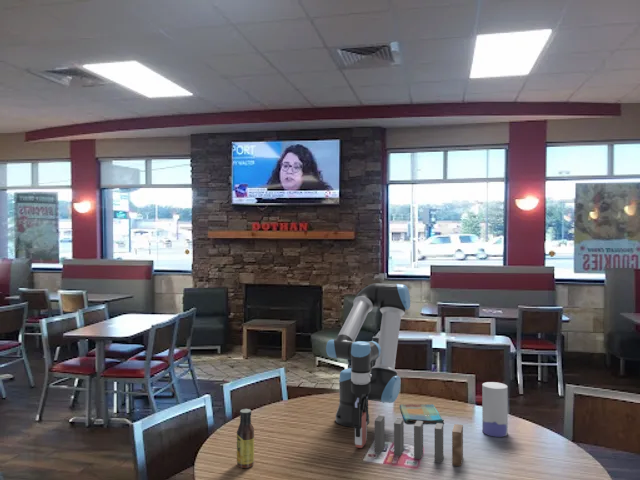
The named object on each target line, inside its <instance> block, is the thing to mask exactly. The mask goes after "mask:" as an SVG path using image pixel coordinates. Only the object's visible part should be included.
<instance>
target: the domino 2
mask: <svg viewBox="0 0 640 480" xmlns="http://www.w3.org/2000/svg"><path fill="white" fill-rule="evenodd" d="M404 422H405V420H404V418H403V417H402V418H399V417H397V418H396V419H395V421H394V423H393V456H399V457H401V456H402V454H403V452H404V449H405V448H404V447H405V445H404V442H405V441H404V436H405V435H404V433H405V430H404V426H405V425H404V424H405V423H404Z"/></svg>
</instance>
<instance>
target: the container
mask: <svg viewBox="0 0 640 480" xmlns="http://www.w3.org/2000/svg"><path fill="white" fill-rule="evenodd" d="M481 385H482V391H481V393H482V394H481V395H482V397H481V401H482V403H481V404H482V408H481V409H482V413H481V414H482V419H481V420H482V421H481V422H482V426H481V427H482V433H484V434H485V435H487V436H490V437H497V438H499V437H501V438H503V437H507V435H508V430H509V429H508V425H509V424H508V422H509V421H508V419H509V418H508V416H509V415H508V414H509V413H508V412H509V410H508V409H509V408H508V407H509V406H508V405H509V404H508V399H509V398H508V394H509V393H508V392H509V391H508V385H507V384H505V383H501V382H496V381H486V382H483V383H482V384H481Z"/></svg>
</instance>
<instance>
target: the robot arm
mask: <svg viewBox="0 0 640 480" xmlns="http://www.w3.org/2000/svg"><path fill="white" fill-rule="evenodd" d="M352 303H353V306H352V307H351V310H350V312H349V314H348V315H347V317H346V319H345V321H344V323H343V325H342V327H341V329H340V331H339V333H338V334H337V337H336V338H335V339H329V340H327V342H326V346H325V352H326V355H327V356H328V357H329V358H333V359H339V360H351V361H350V364H351V365H350V366H351V367H349V368H348V367H347V368H345V369H343V370H341V371H340V373H339V379H338V383H339V385H338V387H339V388H338V389H339V391H338V392H339V394H338V395H339V403H338V407H337V410H336V413H335V422H336V423H337V424H338V425H340V426H344V427H351V428H353V429H354V445H355V446H356V445H362V428H361V424H362V412H366V440H367V439H368V428H367V427H368V424H369V423H370V413H369V401H370V402H371V401H373V402H380V403H383V404H387V403H388V404H391V403H394V402H395V401H397V398H398V397H399V394H400V391H401V385H402V384H401V383H402V382H401V377H400V376H399V375H398V371H397V370H396V369H395V367H396V358H397V352H398V351H397V350H398V345H399V334H400V327H401V319H402V317H403V316H404V315H406V310H410V308H411V295H410V291H409V287H408V286H407V285H406V284H401V283H379V282H377V283H376V282H375V283H371V284H369V285H367V286H365V287H364V288H362V289H361V290H360V291H359V292H358V293H357V294H356V296H355V297H354V299H353V302H352ZM375 308H376V309H379V311H380V313H381V314H382V315H381V322H380V323H381V324H380V327H379V328H380V330H379V337H378V342H377V341H374V340H372V341H371V340H370V341H364V340H363V341H361V340H358V341H356V339H357V336H358V335H359V333H360V331H361V329H362V326H363V324H364V322H365V320H366V319H367V317H368V313H370V312H372V310H373V309H375ZM374 361H375V364H374V366H372V367H371V363H372V362H374Z"/></svg>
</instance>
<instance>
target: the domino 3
mask: <svg viewBox="0 0 640 480" xmlns="http://www.w3.org/2000/svg"><path fill="white" fill-rule="evenodd" d="M423 454H424V424H423V421H418V420H417V421H416V423H414V425H413V458H414V459H418V460H421V459H422V457H423Z"/></svg>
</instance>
